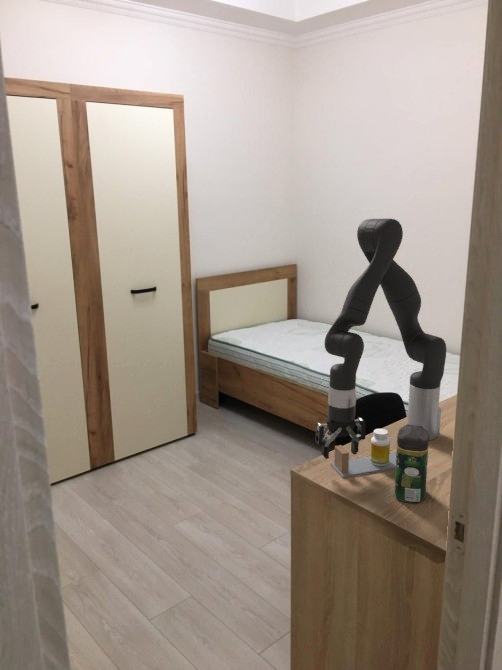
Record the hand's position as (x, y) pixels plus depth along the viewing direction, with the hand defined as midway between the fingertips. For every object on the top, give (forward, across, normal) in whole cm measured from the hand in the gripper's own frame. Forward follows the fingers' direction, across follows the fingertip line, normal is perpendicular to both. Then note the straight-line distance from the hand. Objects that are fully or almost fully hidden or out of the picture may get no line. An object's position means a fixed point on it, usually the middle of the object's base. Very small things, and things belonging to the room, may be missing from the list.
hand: (339, 455), depth 162 cm
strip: (+5, -12, 0) cm, 13 cm away
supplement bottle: (+4, -13, 0) cm, 13 cm away
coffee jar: (+5, -12, +17) cm, 22 cm away
